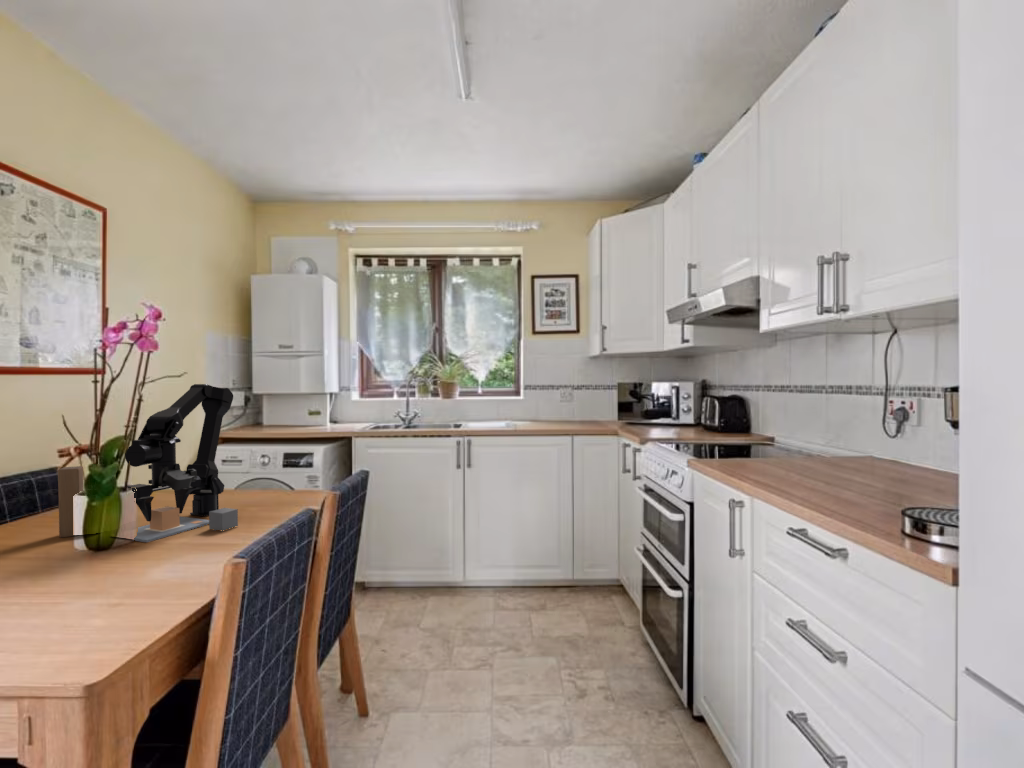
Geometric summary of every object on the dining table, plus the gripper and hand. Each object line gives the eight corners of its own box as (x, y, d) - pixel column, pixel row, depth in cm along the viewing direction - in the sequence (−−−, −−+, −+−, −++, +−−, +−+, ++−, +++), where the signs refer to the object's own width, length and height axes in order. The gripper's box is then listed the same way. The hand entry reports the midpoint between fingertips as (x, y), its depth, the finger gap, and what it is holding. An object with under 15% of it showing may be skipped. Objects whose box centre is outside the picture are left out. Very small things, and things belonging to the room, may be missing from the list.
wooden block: (104, 529, 155) (103, 464, 155) (100, 533, 151) (99, 467, 151) (64, 533, 151) (62, 467, 151) (58, 538, 147) (57, 469, 147)
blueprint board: (180, 518, 167) (180, 516, 167) (214, 522, 161) (214, 520, 161) (110, 536, 148) (110, 534, 148) (146, 542, 143) (146, 539, 143)
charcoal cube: (224, 525, 159) (224, 507, 159) (237, 527, 157) (237, 509, 157) (209, 529, 155) (209, 511, 155) (222, 531, 153) (222, 513, 153)
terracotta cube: (167, 524, 158) (166, 506, 158) (179, 525, 156) (179, 507, 156) (149, 528, 154) (149, 510, 153) (162, 530, 152) (162, 511, 152)
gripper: (150, 467, 143) (151, 528, 143) (214, 457, 160) (215, 512, 160) (121, 465, 147) (122, 524, 147) (186, 455, 164) (187, 508, 165)
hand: (164, 517), depth 155 cm, fingers open, 9 cm apart
